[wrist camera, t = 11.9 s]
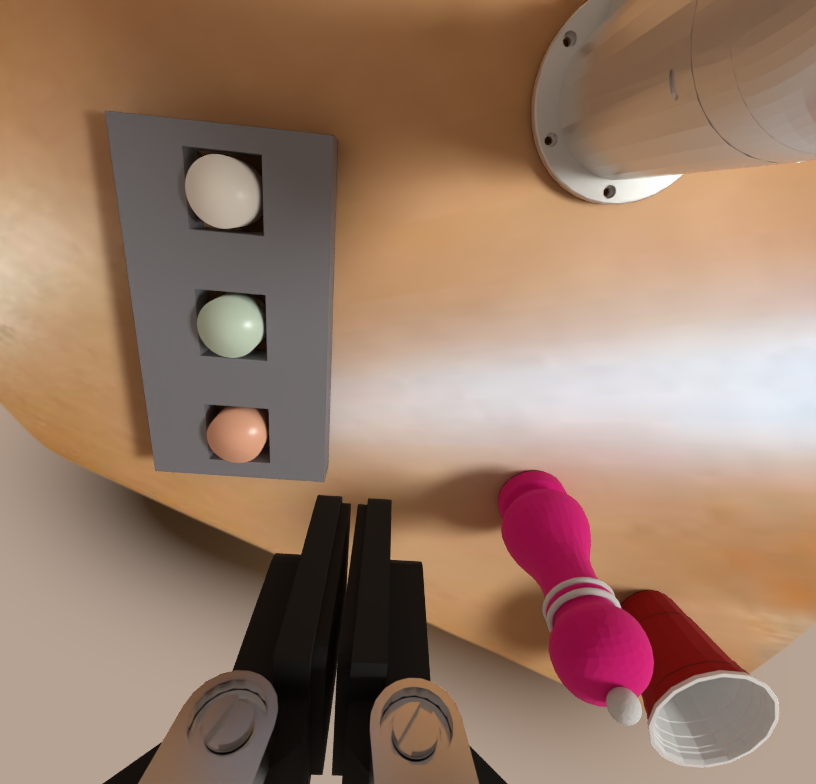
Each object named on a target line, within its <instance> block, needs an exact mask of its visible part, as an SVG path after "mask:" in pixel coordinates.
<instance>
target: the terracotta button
mask: <svg viewBox="0 0 816 784" xmlns="http://www.w3.org/2000/svg"><path fill="white" fill-rule="evenodd" d="M268 437H269V412H268V410H267V409H263V408H249V407H236V406H225V407H224V408H223V409H222V411H221V412H220V413H219V414H218V415H217V416H216V418H215V419H214V420H213V421H212V422H211V424H210V425H209V427H208V430H207V441H208V444H209V446H210V448H211V449H212V451H213V452H214V453H215V454H216V455H217V456H219V457H220V458H222V459H224V460H226V461H229V462H233V463H244V462H248V461H251V460H253V459H254V458H256V457H257V456H258V455H259V453H260V452H261V450H262V448H263V446H264V444H265V443H266V441H267V439H268Z"/></svg>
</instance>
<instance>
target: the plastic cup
mask: <svg viewBox="0 0 816 784" xmlns="http://www.w3.org/2000/svg"><path fill="white" fill-rule="evenodd" d="M621 609H623V610H625V611H626V612H628V613H629V614H630V615H631V616H633V617H634V618H635V619H636V620H637V621H638V623H639V624H640V626H641V627H642V628H643V630H644V631H645V633H646V635H647V637H648V640H649V642H650V645H651V647H652V652H653V659H654V666H653V674H652V677H651V680H650V683H649V685H648V686H647V688H646V689H645V690H644V692H643V693H642V698H643V701H644V707H645V710H646V713H647V719H648V729H649V736H650V741H651V744H652V746H653V747H654V748H655V749H656V750H657V751H658V753H659V754H660V755H661V756H662V757H663V758H665V759H667V760H670V761H672V762H674V763H676V764H678V765H681V766H690V767H704V768H705V767H711V766H716V765H721V764H726V763H730V762H732V761H734V760H737V759H739V758H741V757H743V756H745V755H747V754H749V753H751V752H753V751H754V750H755V749H756V748H757V747H758V746H759V745H761V744H762V743H763V742H764V741H765V740H766V739H768V738H769V737H770V735H771V733H772V731H773V729H774V727H775V725H776V724H777V722H778V720H779V700H778V699H777V697H776V696H775V694H774V693H773V691H772V690H771V688H770V687H769V686H768V685H767V684H766V683H764V682H763V681H761V680H759V679H757V678H755V677H753V676H751V675H750V674H748V673H747V672H746V671H745V670H743V669H742V668H741V667H740V666H739V665H738V664H737V663H736V662H735V661H733V660H731V659H730V658H729V657H728V656H727V655H726V654H725V653H724V652H723V651H722V650H721V649H720V648H719V647H718V646H717V645H716V644H715V643H714V642H713V640H712V639H711V638H710V637H709V636H708V635H707V634H706V633H705V632H704V631H703V630H702V629H701V628H700V627H699V626H698V625H697V624H696V623H695V622H694V621H693V620H692V619H691V618H689V617H688V616H687V615H686V614H685V613H684V612H683V611H682V610H681V609H680V608H679V607H678V606H677V605H676V604H675V603H674V602H673V601H672V599H670V598H668V597H667V596H666V595H665V594H663V593H661V592H659V591H649V590H648V591H643V592H638V593H636V594H634V595H632V596H630V597H628V598H627V599H626V600H625V601H624V602H623V603H622V604H621Z"/></svg>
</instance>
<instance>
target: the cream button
mask: <svg viewBox="0 0 816 784" xmlns="http://www.w3.org/2000/svg"><path fill="white" fill-rule="evenodd" d="M185 191H186V196H187V199H188V202H189V204H190V206H191V208H192V209H193V211H194V212H195V213H196V215H197V216H198V217H199V218H200V219H201V220H203V221H204V222H205V223H207V224H209V225H211V226H213V227H217V228H221V229H229V228H236V227H243V226H248V225H251V224H253V223H254V222H256V221H257V220H258V219H259V218H260V217H261V216H262V214H263V183H262V177H261V175H260V174H259V173H258V171H257V170H256V169H255V168H254V167H252V166H251V165H250V164H248V163H247V162H244V161H242V160H239V159H236V158H232V157H228V156H225V155H220V154H209V155H205V156H203V157H201V158H199V159H197V160H196V161H195V162H194V163H193V164H192V165H191V167H190V169H189V170H188V173H187V176H186V181H185Z"/></svg>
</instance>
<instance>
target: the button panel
mask: <svg viewBox="0 0 816 784" xmlns="http://www.w3.org/2000/svg"><path fill="white" fill-rule="evenodd" d="M105 116H106V123H107V130H108V137H109V144H110V152H111V159H112V166H113V173H114V180H115V187H116V194H117V201H118V209H119V216H120V223H121V230H122V237H123V244H124V251H125V258H126V265H127V273H128V280H129V287H130V294H131V301H132V308H133V315H134V322H135V330H136V337H137V344H138V351H139V358H140V365H141V372H142V379H143V387H144V394H145V401H146V408H147V415H148V422H149V429H150V436H151V443H152V451H153V458H154V465H155V471H164V472H179V473H194V474H209V475H225V476H240V477H255V478H270V479H285V480H300V481H315V482H324V481H325V477H326V473H327V469H328V458H329V424H330V390H331V356H332V322H333V288H334V254H335V220H336V187H337V153H338V140H337V139H336V138H335V137H334V136H333V135H327V134H317V133H308V132H299V131H290V130H280V129H271V128H262V127H252V126H243V125H234V124H224V123H215V122H206V121H197V120H187V119H178V118H169V117H159V116H150V115H141V114H131V113H122V112H113V111H105ZM198 150H202V151H211V152H221V153H231V154H240V155H250V156H259V157H262V183H263V219H264V233H258V232H247V231H237V230H226V229H216V228H205V227H204V225H203V220H201V219H200V218H199V217H198V216H197V215H196V213H195V212H194V211H193V209H192V208H191V206H190V204H189V202H188V199H187V196H186V191H185V181H186V176H187V173H188V170H189V169H190V167H191V165H192V164H193V163H194V162H195V161H196V160H197V159H198ZM208 290H214V291H226V292H237V293H248V294H260V295H266V329H267V350H255V349H253V350H252V351H251V352H250V353H248V354H246V355H244V356H242V357H238V358H228V357H223V356H220V355H218V354H216V353H214V352H213V351H211V350H210V349H209V348H208V347H207V346H206V345H205V344H204V342H203V341H202V339H201V338H200V335H199V333H198V328H197V319H198V315H199V313H200V311H201V309H202V308H203V307H204V306H205V305H206V304H207V303H208V302H209V292H208ZM217 405H223V406H236V407H249V408H263V409H269V439H270V448H266V447H263V448H262V450H261V452H260V453H259V455H258V456H257V457H256V458H254V459H253V460H251V461H248V462H244V463H233V462H229V461H226V460H224V459H222V458H220V457H219V456H217V455H216V454H215V453H214V452H213V451H212V449H211V448H210V446H209V444H208V441H207V430H208V427H209V425H210V424H211V422H212V421H213V420H214V419H215V418H216V416H217V415H218V412H217Z"/></svg>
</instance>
